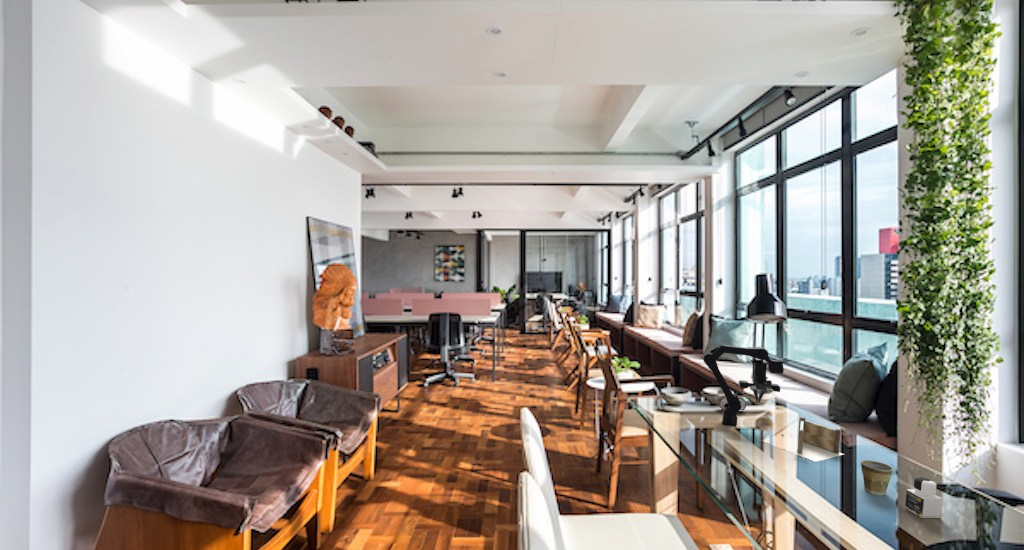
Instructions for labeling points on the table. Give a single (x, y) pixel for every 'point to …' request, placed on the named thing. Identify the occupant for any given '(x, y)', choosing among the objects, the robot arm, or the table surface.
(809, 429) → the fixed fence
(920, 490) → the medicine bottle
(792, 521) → the table surface
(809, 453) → the card
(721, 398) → the tin
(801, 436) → the folding panel
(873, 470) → the ceramic cup
